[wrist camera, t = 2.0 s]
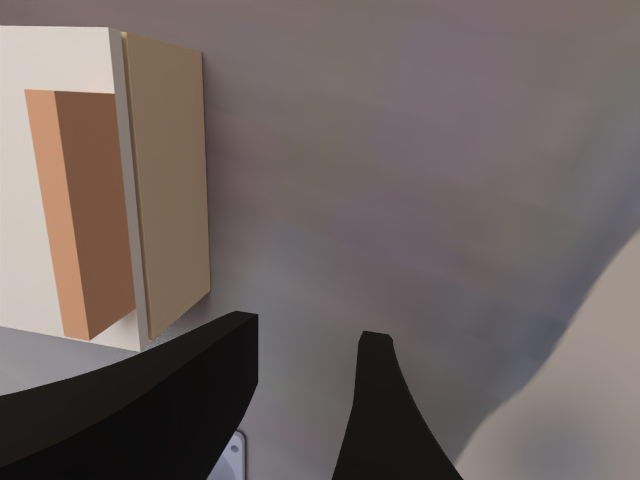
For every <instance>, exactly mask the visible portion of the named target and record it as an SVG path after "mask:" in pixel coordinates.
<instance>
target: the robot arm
mask: <svg viewBox="0 0 640 480" xmlns="http://www.w3.org/2000/svg"><path fill="white" fill-rule="evenodd" d="M257 384H258V314H253V313H247V312H241V311H234V312H231V313H229V314H226V315H224V316H222V317H219V318H217V319H215V320H213V321H211V322H209V323H206V324H204V325H202V326H200V327H198V328H196V329H194V330H192V331H190V332H187V333H185V334H183V335H181V336H179V337H177V338H175V339H173V340H170V341H168V342H166V343H163V344H161V345H159V346H156V347H154V348H152V349H149V350H147V351H145V352H142V353H140V354H138V355H135V356H133V357H130V358H128V359H125V360H123V361H120V362H117V363H114V364H112V365H109V366H106V367H103V368H100V369H97V370H94V371H91V372H88V373H85V374H82V375H79V376H76V377H72V378H69V379H65V380H61V381H57V382H54V383H50V384H46V385H43V386H39V387H35V388H31V389H28V390H24V391H20V392H16V393H11V394H7V395H2V396H0V480H245V440H244V437H243V435H242V434H241V433H240V432H237V431H236V429H237V428H238V426H239V424H240V422H241V421H242V419H243V417H244V415H245V413H246V410H247V408H248V406H249V404H250V401H251V399H252V396H253V394H254V391H255V389H256V387H257ZM234 445H235V446H237V447H238V448H237V447H235V446H234ZM332 480H463V479H462V477H461V476H460V474H459V473H458V472H457V470H456V469H455V467H454V466H453V465H452V463H451V462H450V460H449V459H448V457H447V456H446V455H445V453H444V452H443V450H442V449H441V447H440V445H439V444H438V442H437V441H436V439H435V438H434V436H433V434H432V433H431V431H430V429H429V428H428V426H427V424H426V423H425V421H424V419H423V417H422V415H421V413H420V411H419V410H418V408H417V406H416V404H415V402H414V400H413V398H412V396H411V394H410V391H409V389H408V387H407V384H406V382H405V380H404V377H403V375H402V372H401V370H400V367H399V364H398V361H397V358H396V355H395V351H394V346H393V339H392V338H391V337H390V335H388V334H382V333H375V332H369V331H363V333H362V335H361V338H360V340H359V344H358V355H357V367H356V378H355V390H354V400H353V406H352V410H351V414H350V418H349V421H348V425H347V429H346V432H345V436H344V440H343V443H342V447H341V450H340V453H339V457H338V460H337V464H336V467H335V470H334V474H333V477H332Z"/></svg>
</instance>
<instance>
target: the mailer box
mask: <svg viewBox="0 0 640 480" xmlns="http://www.w3.org/2000/svg"><path fill="white" fill-rule="evenodd" d="M121 41H122V52H123V63H124V74H125V85H126V96H127V107H128V118H129V129H130V140H131V151H132V161H133V172H134V183H135V194H136V205H137V216H138V227H139V238H140V249H141V260H142V271H143V282H144V293H145V303H146V314H147V325H148V336H149V340H155V339H156V338H157V337H158V336H159V335H160V334H161V333H163V332H164V331H165V330H166V329H167V328H168V327H169V326H171V325H172V324H173V323H174V322H175V321H176V320H177V319H178V318H180V317H181V316H182V315H183V314H184V313H185V312H186V311H188V310H189V309H190V308H191V307H192V306H193V305H194V304H196V303H197V302H198V301H199V300H200V299H201V298H202V297H204V296H205V295H206V294H207V293H208V292H209V291H210V290H211V288H210V262H209V235H208V208H207V181H206V154H205V127H204V100H203V74H202V52H200V51H196V50H193V49H189V48H185V47H181V46H177V45H173V44H170V43H166V42H162V41H158V40H154V39H150V38H147V37H143V36H139V35H135V34H131V33H127V32H121Z"/></svg>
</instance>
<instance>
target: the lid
mask: <svg viewBox="0 0 640 480" xmlns="http://www.w3.org/2000/svg"><path fill="white" fill-rule="evenodd" d="M0 326H3V327H9V328H14V329H20V330H25V331H30V332H36V333H41V334H47V335H52V336H57V337H63V338H68V339H74V340H79V341H84V342H90V343H95V344H101V345H106V346H111V347H117V348H122V349H128V350H133V351H138V352H141V351H142V350H143V349H144V348H145V347H147V346H148V345H149V336H148V325H147V314H146V303H145V293H144V282H143V271H142V260H141V249H140V238H139V227H138V216H137V205H136V194H135V183H134V172H133V161H132V151H131V140H130V129H129V118H128V107H127V96H126V85H125V74H124V63H123V52H122V41H121V31H120V30H116V29H112V28H108V27H46V26H0Z"/></svg>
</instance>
